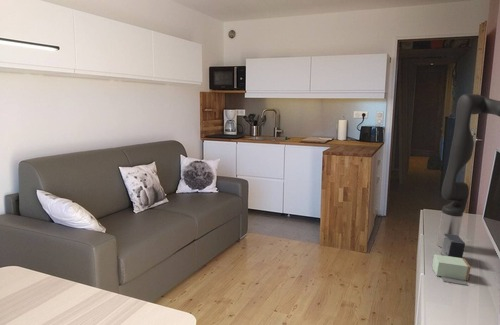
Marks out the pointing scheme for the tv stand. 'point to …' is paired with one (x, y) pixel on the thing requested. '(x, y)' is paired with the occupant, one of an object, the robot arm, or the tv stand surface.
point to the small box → (452, 246)
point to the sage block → (451, 267)
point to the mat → (454, 280)
